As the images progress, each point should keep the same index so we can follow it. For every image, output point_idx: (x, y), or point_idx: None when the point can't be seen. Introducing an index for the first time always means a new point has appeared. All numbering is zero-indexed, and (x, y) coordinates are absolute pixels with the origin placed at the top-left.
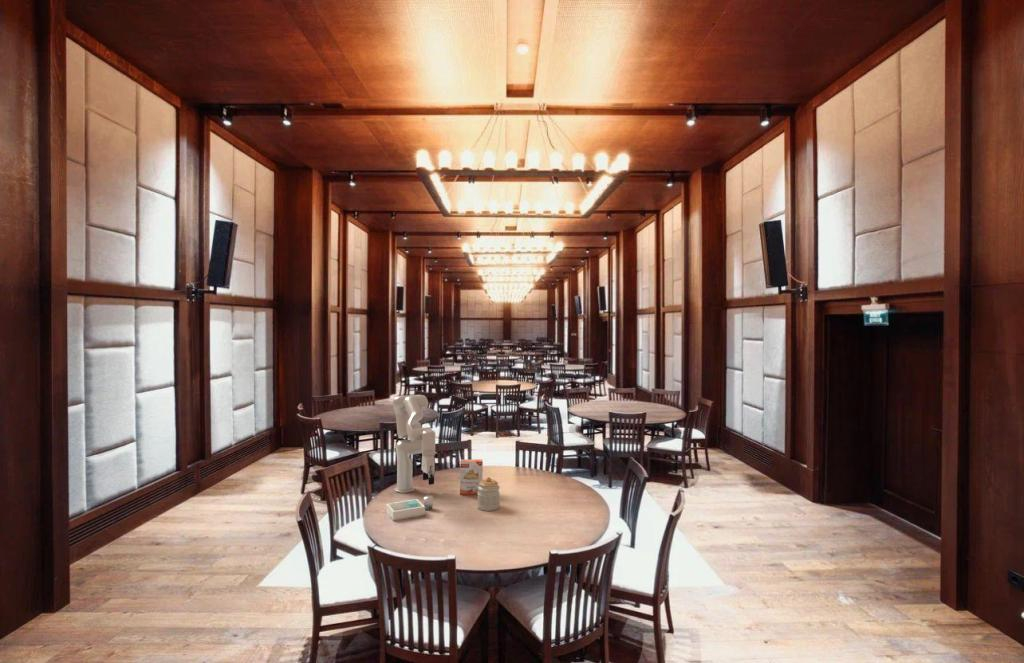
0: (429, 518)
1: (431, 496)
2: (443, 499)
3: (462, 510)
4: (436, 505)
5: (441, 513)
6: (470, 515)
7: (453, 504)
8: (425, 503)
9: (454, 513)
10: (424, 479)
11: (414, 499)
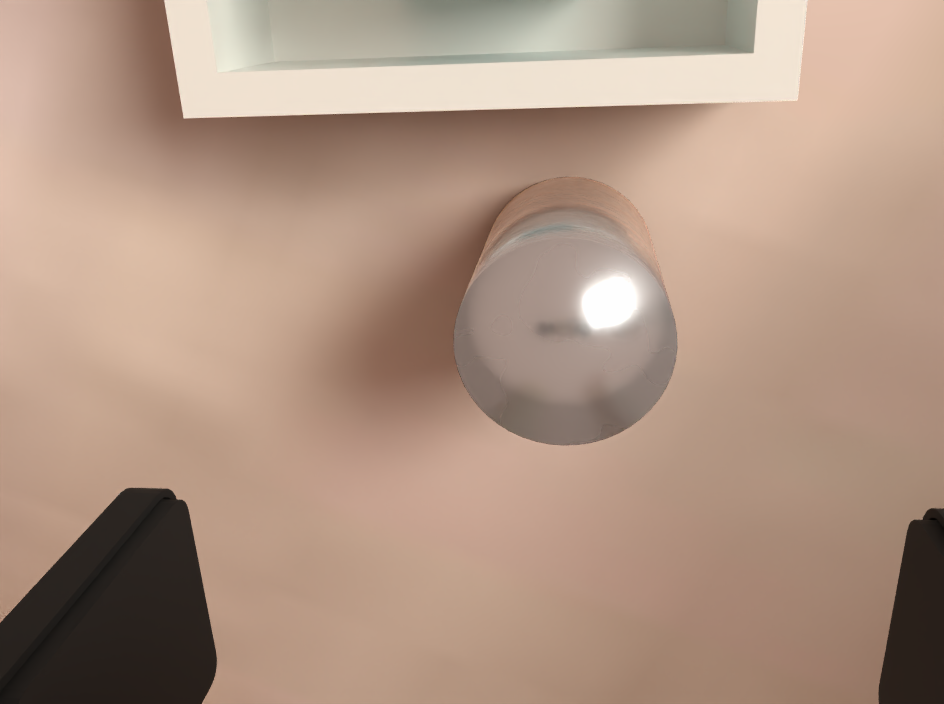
0: (101, 129)
1: (556, 421)
2: None
3: (286, 673)
4: (671, 445)
5: (267, 386)
6: None
7: (580, 671)
8: (514, 223)
9: (206, 546)
10: (908, 565)
11: (796, 20)
